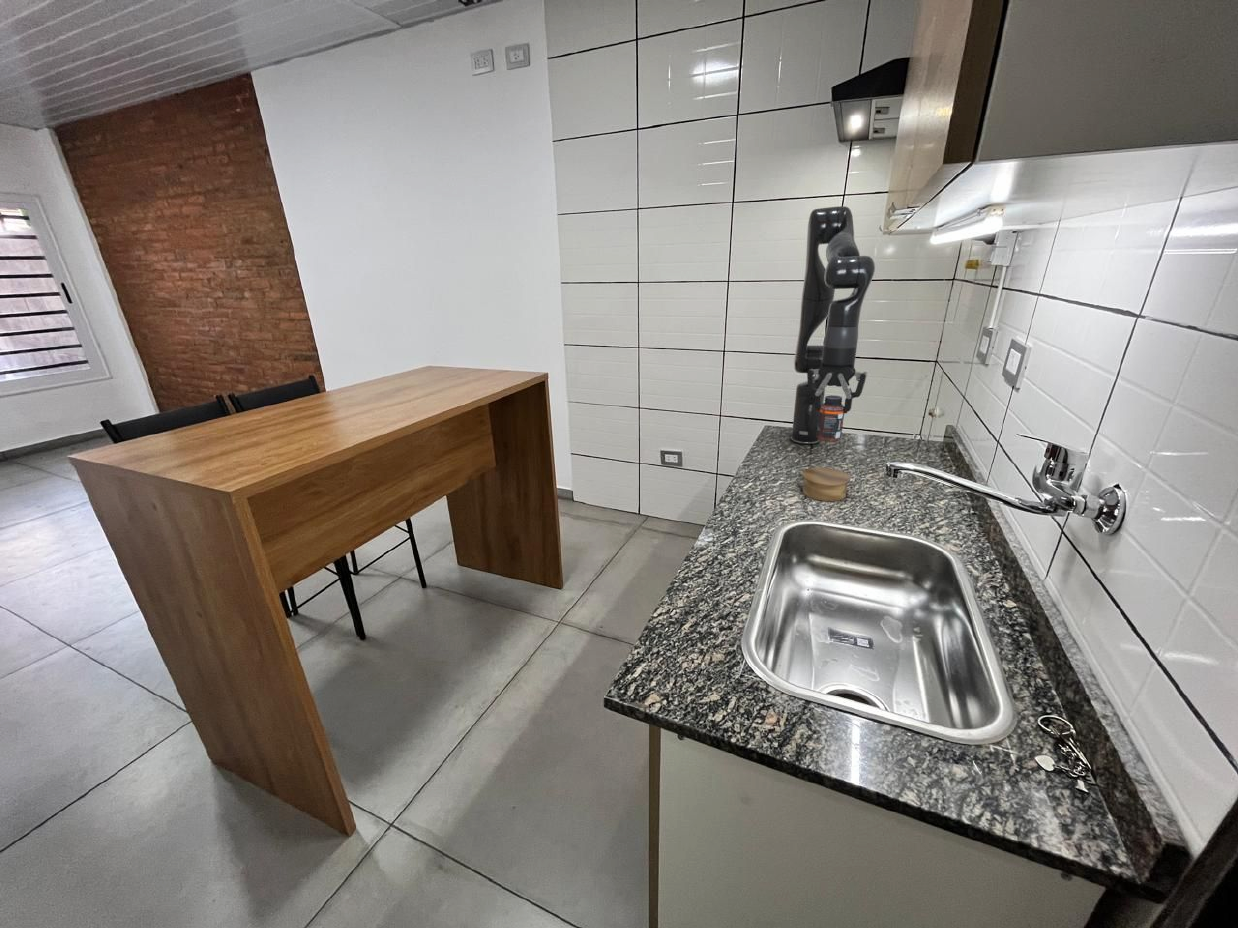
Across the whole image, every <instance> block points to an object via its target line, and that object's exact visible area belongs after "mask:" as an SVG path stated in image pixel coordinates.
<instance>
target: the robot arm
mask: <svg viewBox="0 0 1238 928" xmlns="http://www.w3.org/2000/svg"><path fill="white" fill-rule="evenodd" d="M821 245H826V248H825V258H826V261H827V264H826V267H825V265H824V263H823V260H822V258H821V255H820V251H819V248H820V246H821ZM805 255H806V256H805V271H804V276H803V277H804V278H803V286H802V294H801V302H800V303H801V304H800V315H799V316H800V318H799V329H798V334H797V340H796V347H795V352H794V360H793V361H794V362H793V364H794V365H793V368H794V370H795V372H796V373H798V374H806V376H807V377H806V378H807V380H806V381H803V382H800V383H798V384H797V385H796V389H795V397H794V398H795V399H794V400H795V401H794V411H793V419H792V420H793V421H792V422H793V423H792V429H791V437H790V440H791V441H792V442H794V443H796V444H800V445H816V444H818V443H820V440H819V439H818V438H817V428H818V420H819V411H820V406H821V405H822V404H824V403H825V393H826V387H833V386H834V387H838V388H839V387H840V388H841V389H842V391H843V392H844V395H845V397H846V398H845V399H844V405H843V406H844V414H848V412H850V411H851V409H852V406H853V405H852V404H853V399H854V398H859V397H860V396H861V395H862V393H863V389H864V386H865V384H866V380H867V376H868V372H867V371H863V372H862V371H857V370H856V369H855V363H856V356H857V348H858V340H859V325H860V320H861V319H860V317H861V311H862V306H863V304H864V303H863V302H864V300H865V297H866V294H867V292H868V289H869V287H870V285H871V282H872V281H873V278H874V275H875V273H876V263H875V261H874V259H873V258H872V257H871V256H869V255H861V253H860V250H859V248H858V246H857V243H856V241H855V227H854V218H853V212H852V210H851V209H850V208H849V207H848V206H846V205H845V206H842V205H841V206H839V205H838V206H830V207H829V206H828V207H822V208H821V207H820V208H815V209H813V210H812V211H811V212H810V214H809V217H808V221H807V234H806V254H805ZM847 289H849V290H850V289H853V291H852V292H851V293H850V294H849V296H847V297H844V298H840V299H836V300H834V299H835V294H836V290H847ZM826 319H827V320H826ZM825 321H827V322H826V328H825V333H824V338H823V342H822V345H819V344H815V345H813V344H812V345H811V344H810V345H808V344H809V342H810V340H811V338H812V336H813V335H814V333H815V332H816V331H817V330H818V328H819V327H820V326H821V325H822V324H823V323H824V322H825ZM854 377H855V380H856V381H857V385H856V388H855V391H853V389H852V385H851V383H850V380H852V378H854Z"/></svg>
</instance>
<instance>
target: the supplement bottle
mask: <svg viewBox="0 0 1238 928" xmlns="http://www.w3.org/2000/svg"><path fill="white" fill-rule="evenodd" d="M842 403H843V396H841V395H835V394H834V395H831V394H829V395H826V396H824V404H822V405H821V406H820V411H819V420H818V428H817V438H818V439H819V441H823V442H828V443H834V442H839V441H840V440H841V439H842V433H843V427H844V420H845V419H844V418H845V413H844V405H843V404H842Z"/></svg>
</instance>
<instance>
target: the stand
mask: <svg viewBox="0 0 1238 928" xmlns="http://www.w3.org/2000/svg"><path fill="white" fill-rule="evenodd" d="M801 473H802V474H801V476H802V478H803V481H802V493H803V494H804V496H807V497H809V498H811V499H813V500H817V501H823V502H836V501H837V502H838V501H841V500H843V499H845V498H846V497H847V490H848V484H849V483H851V482H850V481H851V476H850V474H848V473H846V472H844V471H842V470H839V469H835V468H832V467H819V466H817V467H810V468H806V469H804V470H803V471H802V472H801Z"/></svg>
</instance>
